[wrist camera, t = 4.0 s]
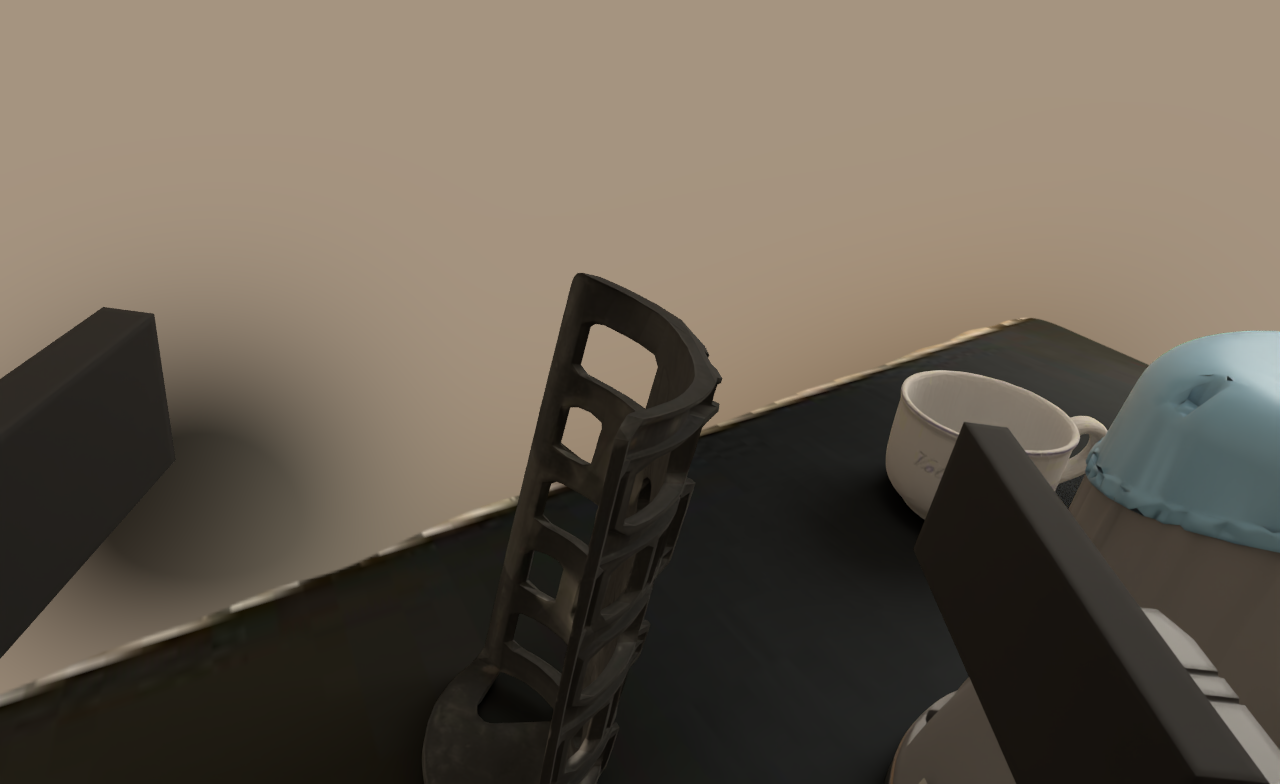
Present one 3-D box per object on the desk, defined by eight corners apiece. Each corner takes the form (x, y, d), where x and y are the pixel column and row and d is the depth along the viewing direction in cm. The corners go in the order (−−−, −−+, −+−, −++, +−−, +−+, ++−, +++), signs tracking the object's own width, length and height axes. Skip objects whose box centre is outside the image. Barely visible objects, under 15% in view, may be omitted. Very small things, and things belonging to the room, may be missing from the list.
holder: (396, 675, 37) (459, 257, 28) (554, 651, 40) (655, 272, 31) (452, 923, 29) (567, 440, 20) (645, 865, 32) (819, 433, 23)
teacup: (878, 539, 51) (918, 430, 47) (862, 447, 61) (894, 350, 57) (1106, 585, 51) (1165, 479, 47) (1053, 484, 60) (1099, 389, 56)
